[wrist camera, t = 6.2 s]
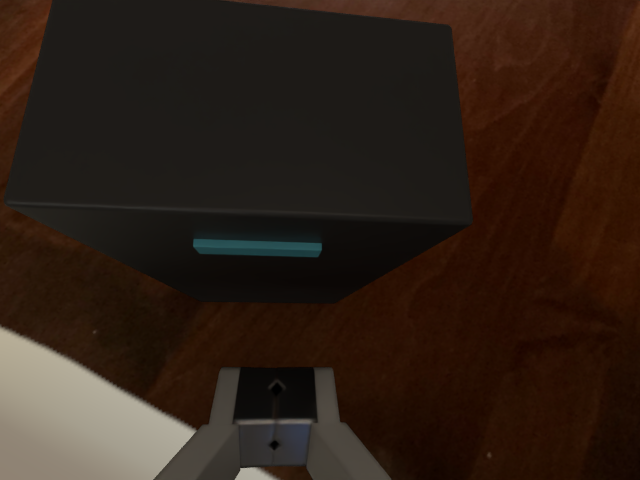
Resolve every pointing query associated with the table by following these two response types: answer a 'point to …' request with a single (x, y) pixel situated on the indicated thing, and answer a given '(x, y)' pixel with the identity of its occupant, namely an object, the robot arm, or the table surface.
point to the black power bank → (244, 144)
